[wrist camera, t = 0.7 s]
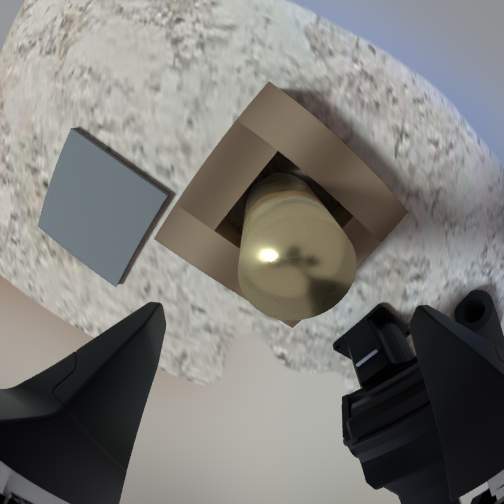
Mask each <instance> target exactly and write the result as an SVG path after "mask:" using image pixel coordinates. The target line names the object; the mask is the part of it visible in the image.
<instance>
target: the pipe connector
mask: <svg viewBox="0 0 504 504" xmlns="http://www.w3.org/2000/svg"><path fill="white" fill-rule="evenodd" d="M455 320H456V322H457V323H459V324H461V325H462V326H464V327H466V328H467V329H469V330H470V331H472V332H474V333H475V334H477V335H479V336H480V337H482V338H483V339H485V340H487V341H488V342H490V343H491V344H493V345H494V346H496V347H498V348H499V349H501V350H503V351H504V336H503V332H502V328H501V325H500V322H499V319H498V315H497V312H496V309H495V306H494V304H493V301H492V298H491V296H490V295H489V294H488V293H487V292H485V291H483V290H475V291H471V292H470V293H469V294H468V295H467V296H466V297H465V298H464V299H463V300H462V302H461V303H460V304H459V305H458V306H457V308H456V312H455Z"/></svg>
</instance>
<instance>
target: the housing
mask: <svg viewBox="0 0 504 504" xmlns="http://www.w3.org/2000/svg"><path fill="white" fill-rule="evenodd" d="M277 151H279V152H280V153H282V154H283V155H284V156H285V157H287V158H288V159H289V160H290V161H292V162H293V163H294V164H295V165H297V166H298V167H299V168H300V169H301V170H303V171H304V172H305V173H306V174H307V175H309V176H310V177H311V178H312V179H313V180H314V181H316V182H317V183H318V184H319V185H320V186H321V187H322V188H324V189H325V190H326V191H327V192H328V193H329V194H330V195H332V196H333V197H334V198H335V199H336V200H337V201H338V202H339V203H340V204H339V205H338V206H337V207H336V208H335V210H334V211H333V212H332V213H331V215H332V217H333V218H334V219H335V221H336V222H337V223H338V225H339V226H340V227H341V229H342V230H343V231H344V233H345V234H346V235H347V237H348V238H349V240H350V241H351V243H352V245H353V248H354V251H355V254H356V268H357V267H358V266H359V265H360V264H361V263H362V262H363V261H364V260H365V259H366V258H367V257H368V256H369V255H370V254H371V253H372V251H373V250H374V249H375V248H376V247H377V246H378V245H379V244H380V243H381V242H382V241H383V240H384V239H385V238H386V237H387V235H388V234H389V233H390V232H391V231H392V230H393V229H394V228H395V227H396V226H397V224H398V223H399V222H400V221H401V220H402V219H403V218H404V216H405V215H406V214H407V213H408V211H407V209H406V208H405V207H404V206H403V205H402V203H401V202H400V201H399V200H398V199H397V198H396V196H395V195H394V194H393V193H392V192H391V191H390V190H389V188H388V187H387V186H386V185H385V184H384V183H383V182H382V181H381V180H380V179H379V178H378V176H377V175H376V174H375V173H374V172H373V171H372V170H371V169H370V168H369V167H368V166H367V165H366V164H365V163H364V162H363V161H362V160H361V159H360V158H359V157H358V156H357V155H356V154H355V153H354V152H353V151H352V150H351V149H350V148H349V147H348V146H347V145H346V144H345V143H344V142H342V141H341V140H340V139H339V138H338V137H337V136H336V135H335V134H334V133H333V132H332V131H330V130H329V129H328V128H327V127H326V126H325V125H324V124H322V123H321V122H320V121H319V120H318V119H317V118H315V117H314V116H313V115H312V114H311V113H310V112H308V111H307V110H306V109H305V108H303V107H302V106H301V105H300V104H298V103H297V102H296V101H295V100H293V99H292V98H291V97H289V96H288V95H287V94H286V93H284V92H283V91H282V90H280V89H279V88H278V87H276V86H275V85H273V84H272V83H271V82H268V83H267V84H266V85H265V87H264V88H263V89H262V90H261V91H260V92H259V94H258V95H257V96H256V97H255V98H254V99H253V101H252V102H251V103H250V104H249V105H248V107H247V108H246V109H245V110H244V111H243V113H242V114H241V115H240V116H239V118H238V119H237V120H236V121H235V123H234V124H233V125H232V126H231V128H230V129H229V130H228V132H227V133H226V134H225V135H224V137H223V138H222V139H221V141H220V142H219V143H218V145H217V146H216V147H215V149H214V150H213V151H212V153H211V154H210V155H209V157H208V158H207V160H206V161H205V162H204V164H203V165H202V166H201V168H200V169H199V171H198V172H197V174H196V175H195V176H194V178H193V179H192V181H191V182H190V184H189V185H188V186H187V188H186V189H185V191H184V192H183V194H182V195H181V197H180V198H179V200H178V201H177V203H176V204H175V206H174V207H173V209H172V211H171V212H170V214H169V215H168V217H167V218H166V220H165V222H164V223H163V225H162V226H161V228H160V230H159V231H158V233H157V234H156V236H155V238H154V239H155V240H156V241H158V242H159V243H161V244H162V245H163V246H165V247H166V248H168V249H169V250H171V251H172V252H174V253H175V254H177V255H178V256H180V257H181V258H183V259H184V260H186V261H187V262H189V263H190V264H192V265H193V266H195V267H196V268H198V269H199V270H201V271H202V272H204V273H205V274H207V275H208V276H210V277H211V278H213V279H214V280H216V281H218V282H219V283H221V284H222V285H224V286H225V287H227V288H229V289H230V290H232V291H233V292H235V293H236V294H238V295H240V296H241V297H243V298H244V299H246V297H245V296H244V294H243V292H242V290H241V287H240V284H239V280H238V263H239V255H240V247H241V239H242V231H241V230H240V229H239V228H237V227H236V226H234V225H233V224H232V223H230V222H229V221H227V220H226V219H225V218H224V217H225V216H226V215H227V213H228V212H229V211H230V210H231V208H232V207H233V206H234V204H235V203H236V202H237V201H238V199H239V198H240V197H241V196H242V194H243V193H244V192H245V191H246V189H247V188H248V187H249V186H250V184H251V183H252V182H253V181H254V179H255V178H256V177H257V176H258V174H259V173H260V172H261V171H262V169H263V168H264V167H265V166H266V165H267V163H268V162H269V161H270V160H271V158H272V157H273V156H274V155H275V154H276V152H277ZM246 300H247V299H246ZM277 319H278V318H277ZM279 320H280V321H282V322H284V323H285V324H287V325H289V326H290V327H292V328H293V327H294V326H295V325H296V324H298V323H299V322H300V321H301V320H284V319H279Z"/></svg>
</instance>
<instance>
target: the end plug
mask: <svg viewBox="0 0 504 504" xmlns="http://www.w3.org/2000/svg"><path fill="white" fill-rule="evenodd" d="M355 274H356V254H355V251H354V248H353V245H352V243H351V241H350V240H349V238H348V237H347V235H346V234H345V233H344V231H343V230H342V229H341V227H340V226H339V225H338V223H337V222H336V221H335V219H334V218H333V217H332V215H331V214H330V213H329V211H328V210H327V209H326V208H325V206H324V205H323V204H322V202H321V201H320V200H319V199H318V197H317V196H316V195H315V194H314V192H313V191H312V190H311V189H310V187H309V186H308V185H307V184H306V183H305V182H304V181H303V180H301V179H300V178H298V177H296V176H293V175H290V174H284V173H279V174H272V175H269V176H267V177H264V178H263V179H261V180H260V181H258V182H257V183H256V184H255V185H254V186H253V188H252V189H251V190H250V192H249V194H248V197H247V201H246V207H245V215H244V223H243V231H242V239H241V247H240V255H239V263H238V280H239V284H240V287H241V290H242V292H243V294H244V296H245V297H246V299H247V300H248V301H249V302H250V303H251V304H252V305H253V306H254V307H255V308H256V309H258V310H259V311H261V312H262V313H264V314H266V315H269V316H271V317H274V318H278V319H284V320H302V319H308V318H311V317H315V316H317V315H320V314H322V313H324V312H326V311H328V310H329V309H331V308H332V307H334V306H335V305H336V304H337V303H339V301H340V300H341V299H342V298H343V297H344V296H345V295H346V293H347V292H348V290H349V289H350V287H351V285H352V283H353V280H354V277H355Z"/></svg>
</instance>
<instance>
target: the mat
mask: <svg viewBox="0 0 504 504" xmlns="http://www.w3.org/2000/svg"><path fill="white" fill-rule="evenodd" d="M168 196H169V193H167V192H166V191H164V190H163V189H161V188H160V187H159V186H157V185H156V184H154V183H153V182H151V181H150V180H149V179H147V178H146V177H144V176H143V175H141V174H140V173H139V172H137V171H136V170H134V169H133V168H131V167H130V166H129V165H127V164H126V163H124V162H123V161H121V160H120V159H119V158H117V157H116V156H114V155H113V154H111V153H110V152H108V151H107V150H106V149H104V148H103V147H101V146H100V145H98V144H97V143H96V142H94V141H93V140H91V139H90V138H88V137H87V136H86V135H84V134H83V133H81V132H80V131H78V130H77V129H76V128H71V130H70V133H69V135H68V137H67V139H66V142H65V144H64V147H63V149H62V151H61V154H60V157H59V159H58V162H57V164H56V167H55V170H54V173H53V176H52V179H51V182H50V185H49V188H48V191H47V194H46V197H45V201H44V204H43V208H42V212H41V216H40V219H39V224H38V227H40V228H41V229H42V230H43V231H44V232H45V233H46V234H48V235H49V236H50V237H51V238H52V239H54V240H55V241H56V242H57V243H58V244H60V245H61V246H62V247H63V248H64V249H66V250H67V251H68V252H69V253H71V254H72V255H73V256H74V257H76V258H77V259H78V260H80V261H81V262H82V263H84V264H85V265H86V266H87V267H89V268H90V269H91V270H93V271H94V272H96V273H97V274H98V275H100V276H101V277H102V278H104V279H105V280H107V281H108V282H109V283H111V284H112V285H114V286H115V287H116V286H117V285H118V283H119V282H120V280H121V278H122V276H123V274H124V272H125V270H126V268H127V266H128V264H129V262H130V260H131V259H132V257H133V255H134V253H135V251H136V250H137V248H138V246H139V244H140V242H141V241H142V239H143V237H144V235H145V234H146V232H147V230H148V228H149V227H150V225H151V223H152V222H153V220H154V218H155V217H156V215H157V213H158V212H159V210H160V209H161V207H162V205H163V204H164V202H165V201H166V199H167V197H168Z"/></svg>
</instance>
